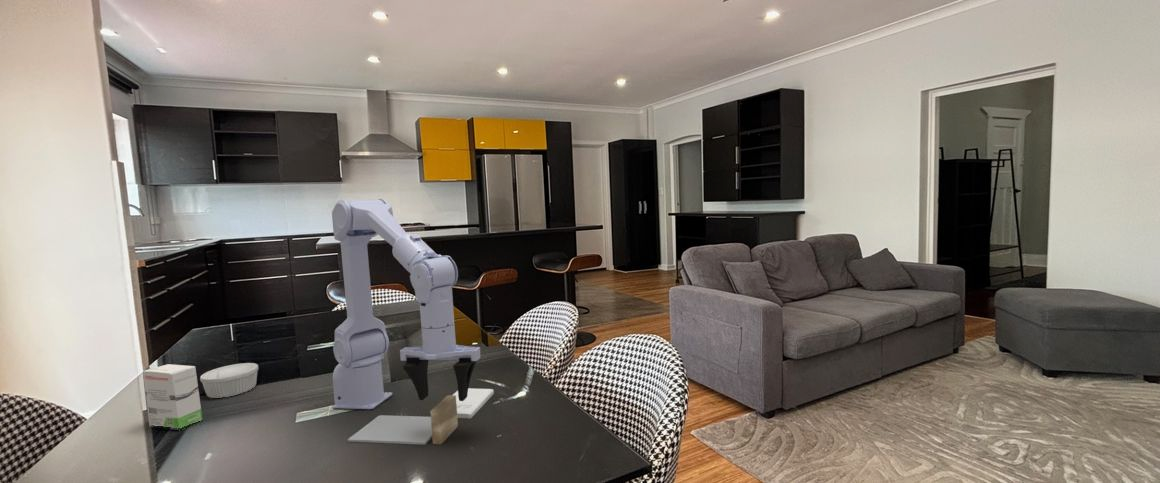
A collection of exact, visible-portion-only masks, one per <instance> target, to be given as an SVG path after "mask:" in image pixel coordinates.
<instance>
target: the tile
mask: <svg viewBox="0 0 1160 483" xmlns="http://www.w3.org/2000/svg"><path fill="white" fill-rule="evenodd" d="M430 417H431V426H432V438H431V439H432V444H433V445H442V444H444V442H445V441H446V440H447V439H448V438H449V436H451V434H452V433H453V432H454V431H455V430H456V429H457V428H458V427H459V423H458V421H459V420H458V419H459V418H457V405H456V395H453V394H452V395H451V394H450V395H449V394H448V395H446V396H445V397H444V398H443V399H442V400H441V401H439V403H438V404H436V405H435V406H434V407H433V408H432V409H431V410H430Z"/></svg>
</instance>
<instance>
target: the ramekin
mask: <svg viewBox="0 0 1160 483" xmlns="http://www.w3.org/2000/svg"><path fill="white" fill-rule="evenodd" d="M258 371H259V365H258V364H257V363H254V362H245V363H244V362H243V363H235V364H230V365H224V366H221V367H217V368H214V369H212V370H211V369H210V370H208V371H206V372H204V373H203V374H201V375H200V378H199V380H200V382H201V383H202V386H203V389H204V392H205V394H206V396H207V397H208V398H210V397H211V398H210V399H212V398H222V397H229V396H233V395H237V394H240V393H243V392H246V391H248V390H250V391H252V390H253V389H254V388H255V387H256V385H257V380H258V378H257V377H258ZM252 388H253V389H252ZM251 389H252V390H251ZM246 393H247V392H246ZM229 398H230V397H229Z"/></svg>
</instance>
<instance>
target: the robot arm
mask: <svg viewBox="0 0 1160 483" xmlns="http://www.w3.org/2000/svg"><path fill="white" fill-rule="evenodd" d="M393 212H394V211H393V207H392V205H391V204H389V203H388V201H387V200H386V199H384V198H379V199H356V200H354V199H353V200H345V199H340V200H338V201H337V202H336V203H335V205H334V207H333V209H332V211H331V218H332V229H333V236H334V238H333V239H334V240H336V241H338V242H340V251H341V252H340V253H341V263H342V272H343V284H344V292H345V293H344V294H345V305H346V307H345V308H346V317H347V318H346V319H345V320H344V321H343V322H342V323H341V324H339V325H338V327H336V328H335V330H334V341H333V346H332V347H333V348H332V350H333V355H334V358H335V360H336V361H337V363H338V364H337V365H336V366H335V367H334V370H333V371H332V372H333V373H332V388H333V399H334V400H333V401H334V404H333V405H332V408H333V409H349V410H350V409H351V410H353V409H354V410H373V409H374V408H377V406H378V407H379V405H381V403H383V402H385V401H386V400H387V399H388V398H390V397H391V396H392V395H393V392H390V391H389V392H387V391H386V392H385V390H384V378H383V377H384V376H383V366H382V360H383V359H385V354H387V353H388V350H389V346H390V340H389V336H388V333H387V331H386V330H387V329H386V326H385V322H384V321H382V320H381V319H379V318H377V317H375V316H374V310H373V309H374V308H373V297H372V287H371V286H372V285H371V275H370V274H371V273H370V265H369V264H370V263H369V254H368V253H369V252H368V251H369V250H368V244H369V243H370V241H371V240H372V239H373V238H375V237H377V236H379V237H380V238H382V239H383V240H384V241H386V242H387V243H388V244H389V245H390V246H391V247H392V250H391V252H392V255H393V258H394V259H396V260H397V261H398V263H399V264H400V265H402V267H403V269H405V270H406V271H407V272H408V273H409V274H410V275H409V281H410V283H411V286H412V288H413V289H414V294H415V295H414V296H415V299H416V301H417V303H418V302H419V313H420V314H419V315H420V326H421V328H420V329H421V339H422V342H421V343H422V345H420V346H405V347H403V348H401V349H400V350H399V355H400V356H399V357H400V361H401V362H402V361H404V362H405V363H404V364H403V366H402V367H403V371H404V372H405V373H406V374H407V376H409V378H410V380H411V381H412V383H413V386H414V388H415V390H416V393H417V395H418V396H417V397H418V400H419V401H424V400H425V399H427V397H428V396H429V380H428V368H429V360H430V361H432V360H435V361H437V360H439V361H441V360H444V361H445V360H447V361H451V360H456V361H457V360H458V361H457V362H456V363H454V365H452V368H453V370H454V372H455V373H454V374H455V378H456V382H457V383H456V384H457V391H458V397H459V401H464V400H465V399H466V398H467V394H468V388H470V387H469V386H470V383H471V382H470V381H471V378H472V374H473V372H474V369H475V366H476V364H477V362H478V361H479V360H480V358H481V347H480V346H467V345H460V344H457V341H456V339H457V338H456V328H455V315H454V313H455V312H454V300H453V299H454V297H453V287H454V286H455V285H456V284H457V281H458V278H459V271H458V266H457V264H456V262H455V261H454V259H453V258H452V257H451V256H450V255H441V254H437V253H436V252H435V251H434V250H433V249H432V248H431V247H430V246H429V245H428V244H427V243H426V242H425V241H423V239H422V237H421V235H419V233H417V234H415V233H407V232H406V231H405V229H404V228H403V227H402V226H401V225H400V223H399V222H398V221H397V220H396V218H395V217H394V213H393Z"/></svg>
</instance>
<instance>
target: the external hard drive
mask: <svg viewBox="0 0 1160 483" xmlns="http://www.w3.org/2000/svg"><path fill="white" fill-rule="evenodd" d="M494 394H495V390H494V389H492V388H471V387H468V394H467V398H466V399H465V400H464V401H459V397H458V390H456V391H455V392H454V393H453V394H452V395H456V405H457V419H473V417H474V416H475V415H476V413H478V411H480V410H481V408H482V407H483V406H484V405H485V404H486V403H487V402H488V400H489V399H490V398H492V396H493V395H494Z"/></svg>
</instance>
